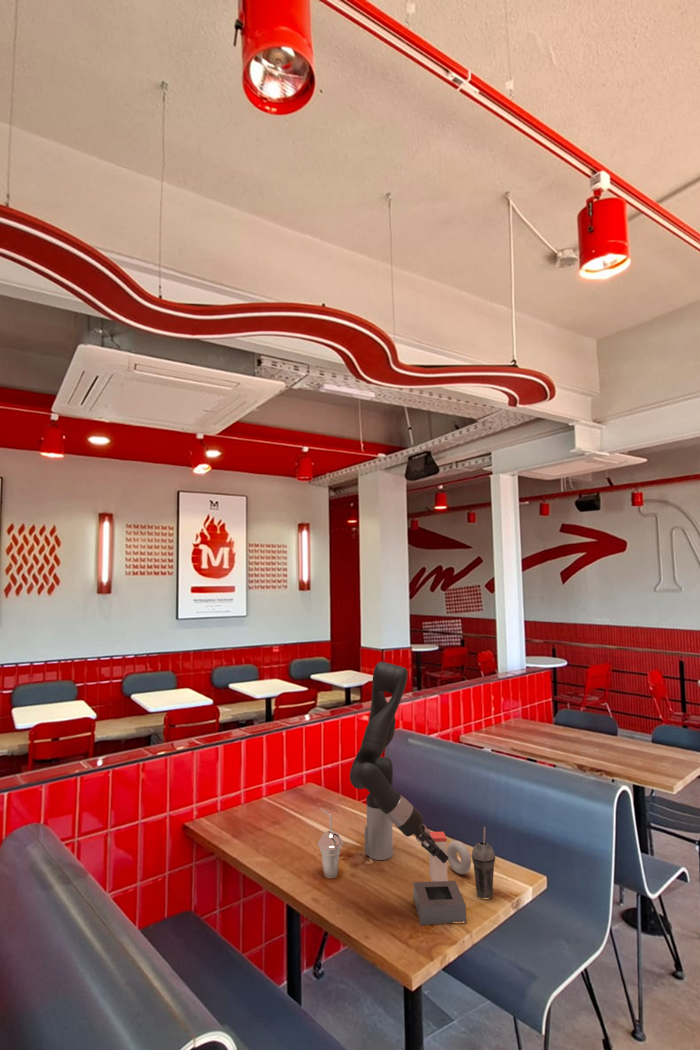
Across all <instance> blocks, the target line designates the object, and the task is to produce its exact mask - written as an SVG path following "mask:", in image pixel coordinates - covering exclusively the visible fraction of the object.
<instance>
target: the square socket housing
mask: <svg viewBox="0 0 700 1050" xmlns="http://www.w3.org/2000/svg"><path fill="white" fill-rule="evenodd" d="M412 885H413V887H412V888H413V902H414V906H415V909H416V913H417V916H418V919H419V920H418V921H419V922H420V923H419V924H420V925H421V926H424V925H425V926H427V925H428V926H431V924H434V925H444V924H443V923H453V922H463V921H464V922H465V921H466V922H467V907H466V906H467V904H466V902H465V901H464V900H465V899H464V897H463V894H462V893H461V891H460V888H459V887H458V883H457V882H456V880H447V881H434V882H433V881H414V882H413V884H412Z"/></svg>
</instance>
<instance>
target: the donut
mask: <svg viewBox="0 0 700 1050" xmlns="http://www.w3.org/2000/svg"><path fill="white" fill-rule="evenodd" d="M447 845H448V846H447V856H448V860H447V863H448V864H449V866H450V868H451V869H452V870H453V871H454V872H455V873H457V874H459V875H466V874H467V873H468V872H469V871H470V870H471V866H472V859H471V858H472V856H471V853H470V851H469V849H468V847H467V846H466V845H465V844H464V843H463V842H462V841H460V840H452V841H451V842H449V844H447ZM458 855H459V857H460V860H459V858H458Z"/></svg>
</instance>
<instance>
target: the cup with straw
mask: <svg viewBox="0 0 700 1050" xmlns="http://www.w3.org/2000/svg"><path fill="white" fill-rule="evenodd" d="M319 810H320V811H321V812H323V813H325V814H326V815H327V816H328V817H329V830H327V831H325V832H323V833H322V835H321V836H320V839H319V840H318V841H317V847H318V848H320V849H319V850H320V854H321V862H322V871H323V877H324V876H325V877H324V878H326V877H327V878H326V879H335V878H337V876H338V871H339V864H340V853H341V849H342V847H343V846H344V841H343V839H342V838H341V837H340V835H339V833H338V831H337V832H336V831H335V830H333V821H332V820H333V818H332V814H331V813H330V812H328V811H326V809H324V808H323V807H320V809H319Z"/></svg>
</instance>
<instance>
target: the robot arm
mask: <svg viewBox="0 0 700 1050" xmlns="http://www.w3.org/2000/svg"><path fill="white" fill-rule="evenodd" d="M408 677H409V675H408V669H407V668H406V667H403V666H400V665H396V664H392V663H389V662H384V661H379V662H377V663H376V664H375V667H374V669H373V674H372V680H371V681H372V684H371V686H372V687H371V688H372V689H371V704H370V710H369V711H370V712H369V717H368V724H367V726H366V728H365V730H364V733H363V738H362V739H361V745H360V748H359V750H358V752H357V753H356V756H355V758H354V760H353V762H352V765H351V768H350V772H349V781H350V783H351V785H352V786H353V787H354V788H356V789H359V790H364V789H365V790H367V791H368V792H369V793H368V794H367V795H366V799H365V800H366V803H365V804H366V824H365V826H364V855H365V856H367V855H368V856H369V857H368V856H367V857H368V858H370V859H372V860H377V861H385V860H389V859H390V858H392V857H393V855H394V852H393V851H394V850H393V849H394V847H393V846H394V845H393V840H394V839H393V835H394V834H393V825H394V826H395V828H397V829H398V830H399V831H400V832H401V833H402V834H403V836H405V837H411V836H415V839H416V841H417V842H418V843H420V845H421V847H422V848H423V849H425V850H426V851H427V852H428V853H430V854H432V856H435V855H436V856H437V857H438V858H439V859H440V860H441V861H442V862H443V863H445V862H446V861H447V862H448V856H447V855H446V854H445V853H444V852H443V851H442V850H441V849H440V847H439V846H438V845H437V844H436V843H435V840H434V839H433V837H432V836H431V835H430V834H429V833H430V832H431V831H430V830H429V829H428V828H427V826H426V825H425V824H424V823H423V820H424V817H423V814H422V813H420V812H419V810H417V808H416V807H414V806H413V805H412V804H411V803H410V801H408V800H407V799H406V798H405V797H404V796H402V795H401V794H400V793H399V792H398V791H397V790H396V789H395V788H394V787H393V779H394V778H393V777H394V776H393V775H394V770H393V769H394V767H393V763H392V762H393V761H392V760H391V758H390V757H389V756H382V755H383V754H384V753H383V752H384V750H385V749H386V748H387V746H388V745H389V744H390V743H391V742H392V740H393V738H394V735H395V728H396V724H397V723H396V717H395V716H396V713H397V711H398V708H399V706H400V703H401V700H402V698H403V694H404V692H405V689H406V687H407V682H408ZM385 693H387V694H391V697H390V699H389V700H388V701H387V699H386V697H385ZM430 840H432V841H430ZM433 848H435V849H434V850H432V849H433Z"/></svg>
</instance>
